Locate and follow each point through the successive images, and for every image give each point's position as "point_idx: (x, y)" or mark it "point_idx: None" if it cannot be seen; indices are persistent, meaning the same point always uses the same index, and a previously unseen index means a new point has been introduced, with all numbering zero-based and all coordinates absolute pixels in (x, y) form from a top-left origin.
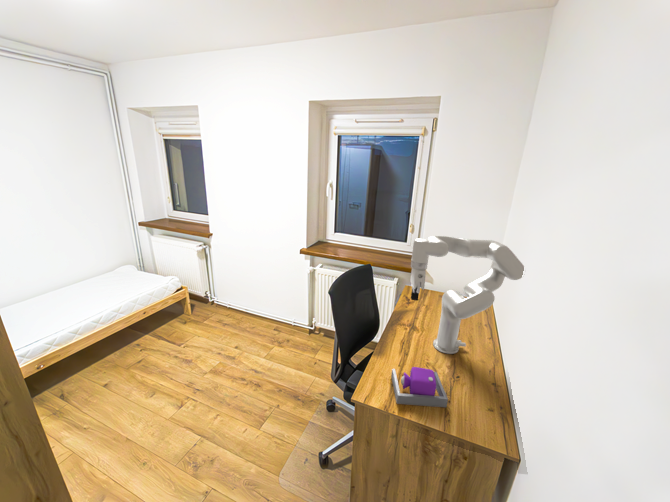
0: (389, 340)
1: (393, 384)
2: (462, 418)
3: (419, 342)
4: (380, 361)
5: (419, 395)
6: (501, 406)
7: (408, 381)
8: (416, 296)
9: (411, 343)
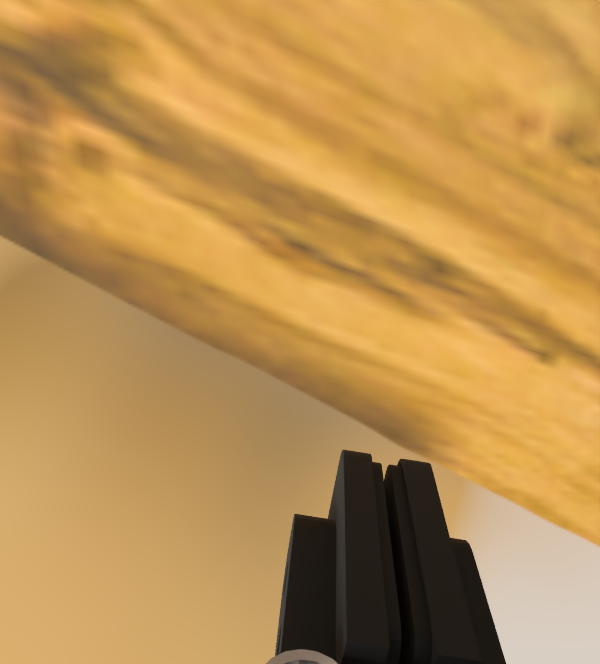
0: (266, 339)
1: None
2: None
3: (296, 100)
4: (485, 452)
5: None
6: None
7: None
8: (482, 621)
9: (308, 180)
